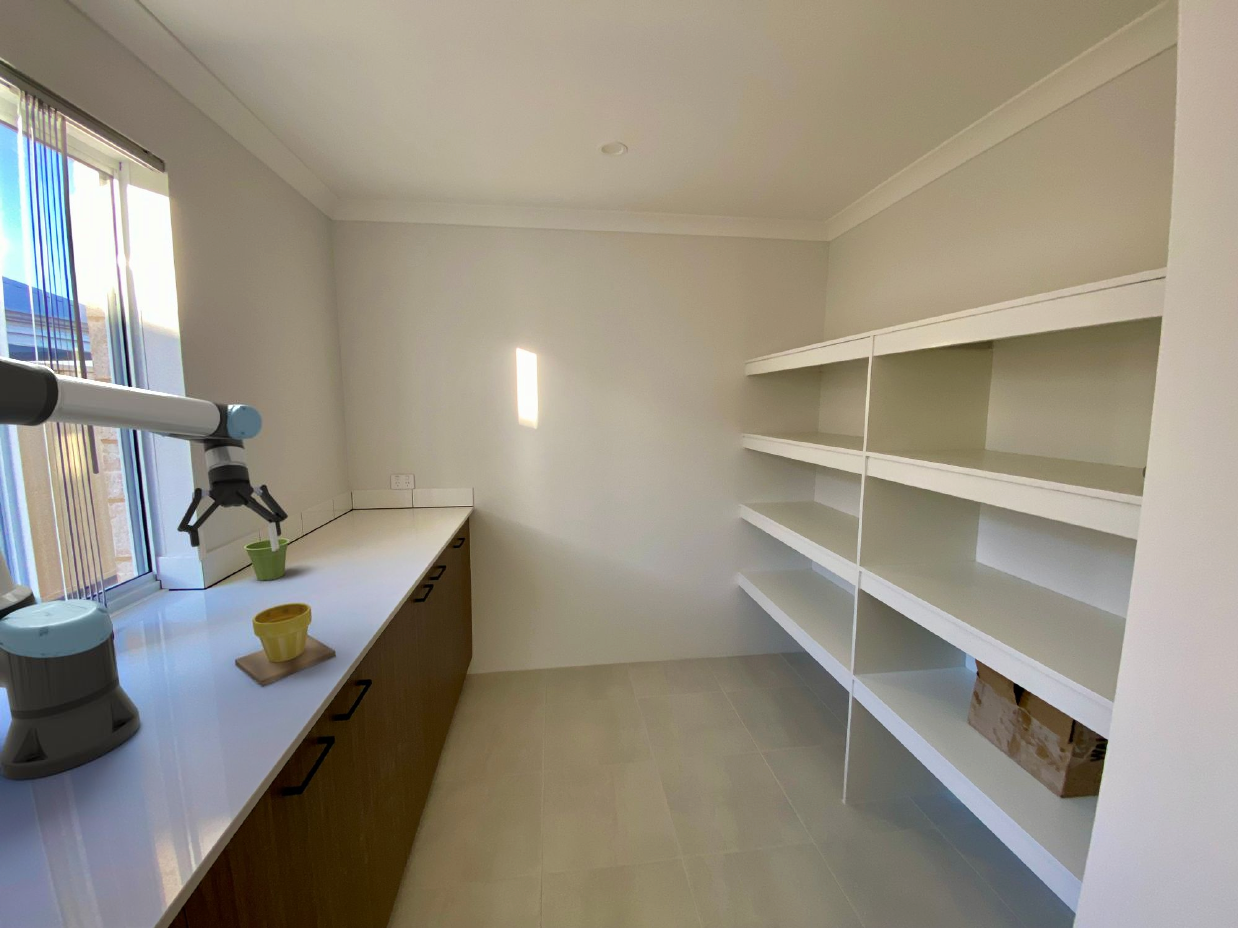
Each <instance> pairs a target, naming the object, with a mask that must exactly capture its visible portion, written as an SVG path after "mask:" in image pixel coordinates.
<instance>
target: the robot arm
mask: <svg viewBox="0 0 1238 928" xmlns="http://www.w3.org/2000/svg"><path fill="white" fill-rule="evenodd" d="M47 422H51V423H61V424H74V425H82V426H95V427H104V428H112V429H113V428H115V429H123V430H135V431H136V430H137V431H144V432H145V431H146V432H149V433H151V434H155V435H159V436H161V437H166V438H167V437H168V438H172V439H179V440H184V441H188V442H194V443H198V444H203V449H204V454H205V461H206V463H205V464H206V469H207V470H208V472H207V477H208V478H207V479H208V484H209V489H202V488H201V487H196V488H195V489H194V490H193V492H192V493H191V494H192V495H191V497H192V498H191V503H190V504H189V506H188V508H187V510H186V512H185V513H184V516H183V517H182V518H181V521H180V523H179V525H178V526H177V531H178V533H179V532H180V533H184V532H185V533H187V534H188V535H189V541H190V542H189V543H190V547H192V548H197V554H198V555H197V556H198V561H199V563H201V562H202V563H203V562H205V561H206V560H207V559H208V558H207V557H208V556H207V549H206V543H205V536H204V529H200V528H201V526H202V525H203V524H204V523H206V521H207V520H208V519H209V518H210V516H211V515H213V513H214V512H215V511H216V510H217V509H218V507H223V508H225V509H226V508H230V507H235V508H237V507H242V506H245V507H246V508H248V509H250V510H252V511H253V512H254V513H256V514H257V515H258V516H259V517H261V518H263V519H264V520H265V521H266V522H268V523H269V524H268V525H267V530H268V536H269V539H270V543H271V548H272V551H276V550H278V549H279V542H278V538H279V537H280V536H281V535H282V529H281V523H282V522H284V521H285V520H286V519H288V517H289V515H288V514H287V513H286V512H285V510H284V509H283V508H282V506H281V505H280V504H279V503H278V502H277V500H276V499H274V497H273V496H272V495H271V494H270V493H269V489H268V486H267V485H266V484H261V486H254V487H253V486H252V484H251V480H250V474H249V468H248V467H247V466H248V462H247V456H246V450H245V445H244V440H246V439H247V440H249V439H253V438H254V437H256V436H257V435H259V434H260V432H261V431H262V427H263V426H262V425H263V418H262V416H261V414H260V412H259V411H258V410H257V409H256V408H255V407H253V406H252V405H247V404H240V403H235V404H229V403H222V402H215V401H210V400H209V401H208V400H205V399H199V398H194V397H188V396H181V395H175V394H171V393H164V392H158V391H153V390H147V389H143V388H136V387H131V386H130V387H129V386H124V385H119V384H113V383H107V382H102V381H96V380H90V379H85V378H78V377H73V376H67V375H62V374H56V373H55V371H54V370H52V369H51V368H49V367H48V366H46V365H42V364H36V363H31V362H27V361H22V360H17V359H13V358H8V357H4V356H0V425H10V426H11V425H12V426H26V427H38V426H41V425H42V426H43V425H44V424H46V423H47ZM254 493H255V494H256V495H257V496H258V497H260V499H261V500H262V502H264V504H265V505H266V506H267V508H266V507H265V506H264V505H262V504H261V503H260V502H258V501H257V499H256V498H255V497H253V496H252V495H253V494H254ZM206 496H208V497H209V498H210V499H211V500H213V501H214V502H213V503H212V504H211V505H210V506H209V507H208V508H207V509H206V511H204V512H203V513H202V514H201V516H199V518H198V519H197V520H196V521H194V523H193V524H192V525H191V524H190V522H191V519H192V518H193V516H194V514H195V512H196V510H197V508H198V506H199V504H200V502H201V500H205V498H206ZM268 508H269V509H268ZM36 599H37V598H36V597H35V595H34V591H33V590H32V588H31V587H30V586H27V585H23V584H19V583H15V582H14V581H13V578H12V574H11V572H10V569H9V567H8V564H7V561H6V559H5V557H4V554H3V551H2V548H1V547H0V688H4V689H6V695H7V700H8V705H9V711H10V716H11V717H10V718H11V721H10V725H9V727H8V731H7V734H6V737H5V740H4V743H3V746H2V749H1V752H0V770H1V774H2V776H3V777H4V778H6V779H9V780H29V779H31V780H32V779H37V778H41V777H42V778H43V777H47V776H52V775H54V774H57V773H58V774H59V773H61V772H65V771H67V770H71V769H73V768H76V767H78V766H81V765H83V764H85V763H88V762H91V761H93V760H95V759H97V758H99V757H101V756H103V755H105V754H107V753H108V752H111V751H112V750H114V749H116V748H117V747H119V746H120V745H121V744H124V742H126V741H128V740H129V739H130V738H131V737H132V736H133V735H134V734H135V733H136V732H137V730H138V729H139V727H140V725H141V719H140V712H139V710H138V709H139V708H138V707H137V706H136V705H135V703H134V702H133V700H132V699H131V697H130V696H129V695H128V694H127V692H125V690H124V688H123V687H122V686H121V684H120V679H119V678H120V677H119V671H118V663H117V657H116V655H117V654H116V649H115V643H114V636H113V628H114V624H113V622H112V619H111V616H110V613H109V610H108V608H107V607H106V606H105V605H104V604H103V603H101V602H99V601H97V600H96V601H95V600H91V599H82V598H81V599H80V598H72V599H67V600H61V599H60V600H59V599H58V600H51V601H44V602H41V603H38V602H37V600H36Z"/></svg>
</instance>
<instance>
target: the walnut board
mask: <svg viewBox="0 0 1238 928" xmlns="http://www.w3.org/2000/svg"><path fill="white" fill-rule="evenodd" d="M333 657H336V650H334V649H333V648H331V647H329V646H328V645H326V644H324V643H323V642H321V641H319V640H318V639H317V638H314V637H312V636H311V635H310V634H308V633H307V637H306V644H305V649H304V652H303V653H302V654H301V655H299V656H297V657H295V658H293V659H291V660H287V661H283V662H271V661H269V660H268V658H267V655H266V653H265V650H264V648H262V649H261V650H258V651H255V652H252V653H249V654H247V655H244V656H241V657H239V658H236V659H234V663H235V666H236V667H237V668H238V669H240V670H241V671H242V672H243V673H245V674H246V675H247V676H248V677H249V678H251V679H252V680H253V681H254V682H255V683H257V684H258V685H259V686H260V687H264V686H266V685H269V684H270V683H271V684H272V682H275V681H278V680H280V679H282V678H285V677H287V676H290V675H292V674H295V673H297V672H299V671H300V672H301V671H302V670H304V669H306V668H309V667H312V666H314V665H317V664H319V663H322V662H324V661H326V660H329V659H331V658H333Z"/></svg>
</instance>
